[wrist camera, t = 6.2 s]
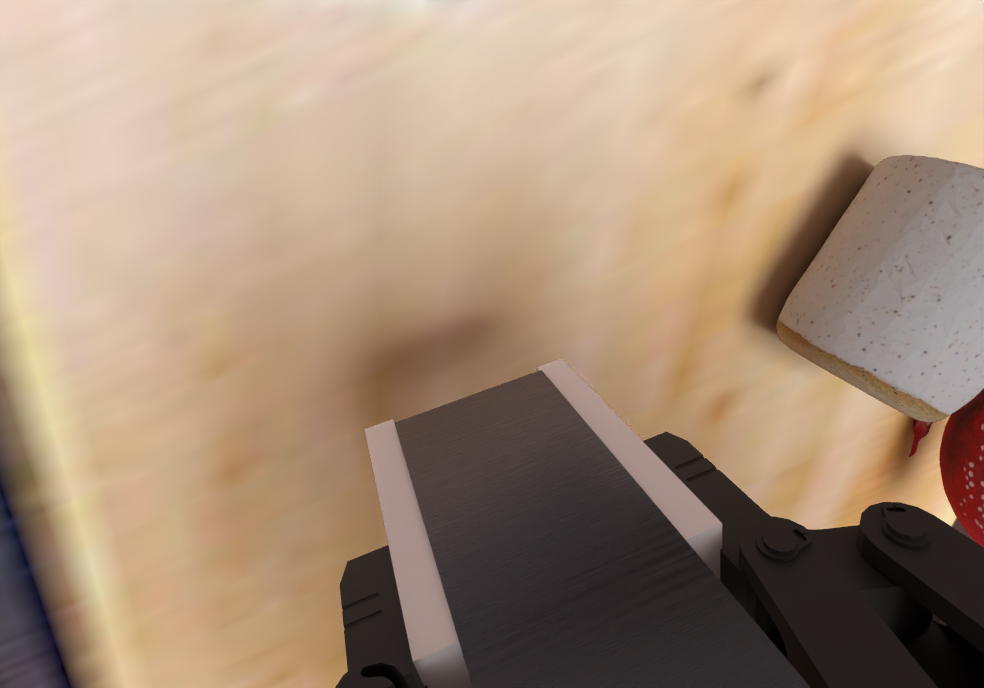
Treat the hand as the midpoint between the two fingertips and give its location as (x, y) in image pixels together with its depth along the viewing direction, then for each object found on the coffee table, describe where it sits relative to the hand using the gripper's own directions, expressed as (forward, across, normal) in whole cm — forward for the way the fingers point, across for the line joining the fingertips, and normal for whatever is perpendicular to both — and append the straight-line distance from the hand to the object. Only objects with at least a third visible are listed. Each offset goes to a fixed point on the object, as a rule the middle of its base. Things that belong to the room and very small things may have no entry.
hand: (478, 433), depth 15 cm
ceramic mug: (+6, -19, +3) cm, 21 cm away
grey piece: (0, 0, +8) cm, 8 cm away
